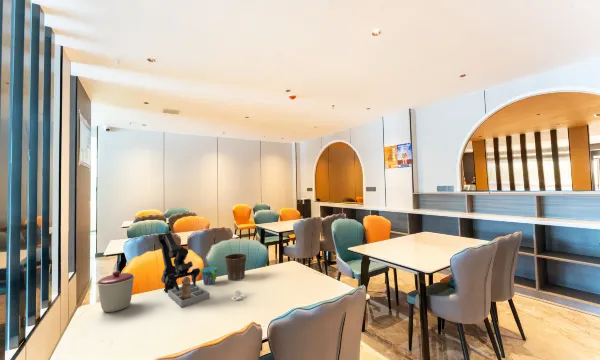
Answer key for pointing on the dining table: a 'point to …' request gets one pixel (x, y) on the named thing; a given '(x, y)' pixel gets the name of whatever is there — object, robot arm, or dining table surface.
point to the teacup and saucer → (238, 295)
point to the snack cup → (209, 275)
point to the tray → (196, 295)
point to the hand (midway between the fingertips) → (187, 288)
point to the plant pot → (235, 266)
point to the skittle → (186, 288)
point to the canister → (115, 291)
